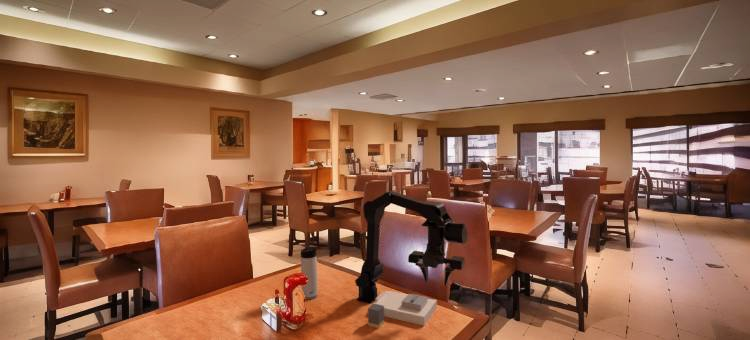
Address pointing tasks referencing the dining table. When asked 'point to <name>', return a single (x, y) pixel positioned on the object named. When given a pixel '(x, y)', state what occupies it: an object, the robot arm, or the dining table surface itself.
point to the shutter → (414, 302)
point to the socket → (396, 311)
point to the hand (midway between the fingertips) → (436, 283)
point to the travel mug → (309, 272)
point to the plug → (376, 315)
